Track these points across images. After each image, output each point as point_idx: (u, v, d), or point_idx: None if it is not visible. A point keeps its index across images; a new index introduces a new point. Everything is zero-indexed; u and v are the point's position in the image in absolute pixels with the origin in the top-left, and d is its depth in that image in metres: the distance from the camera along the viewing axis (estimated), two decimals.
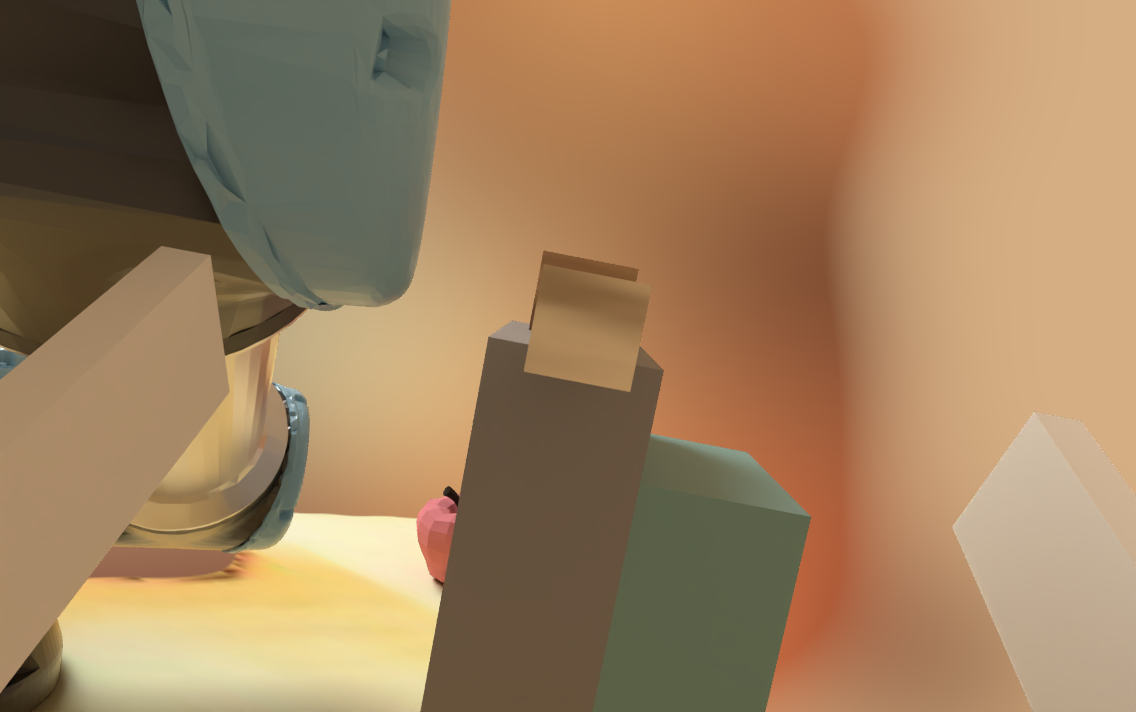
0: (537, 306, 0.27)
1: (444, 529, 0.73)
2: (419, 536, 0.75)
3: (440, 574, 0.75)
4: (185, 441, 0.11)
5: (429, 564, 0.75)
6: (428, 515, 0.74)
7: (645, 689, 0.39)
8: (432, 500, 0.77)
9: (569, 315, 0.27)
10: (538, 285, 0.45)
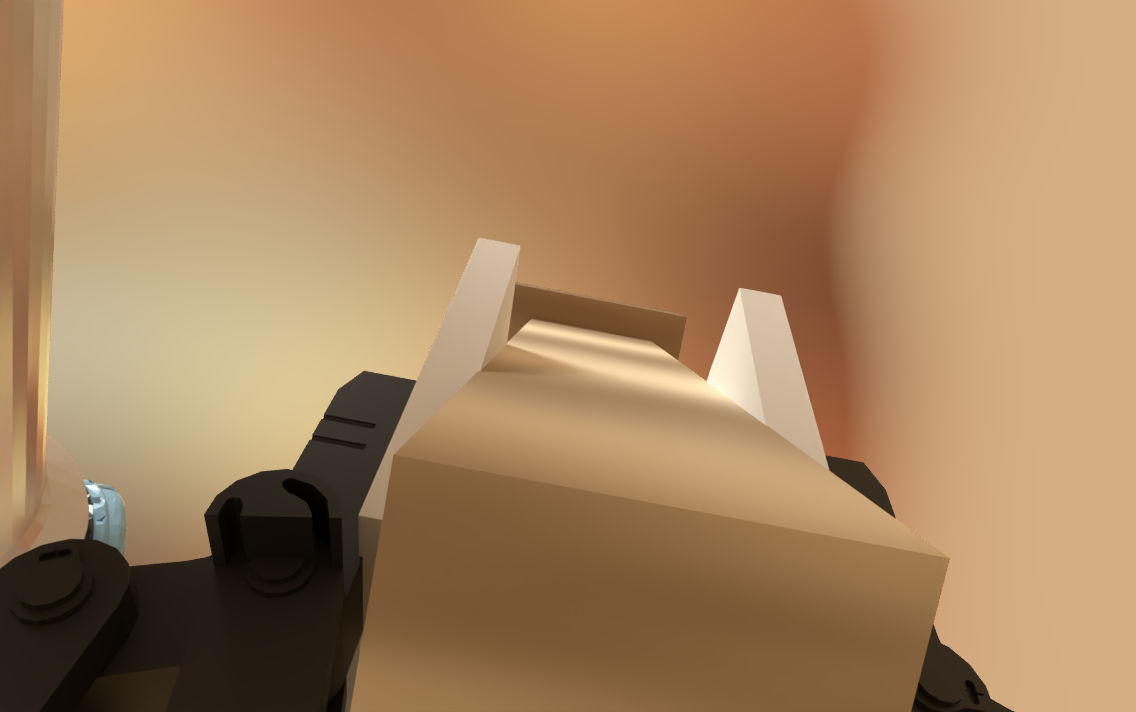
0: (365, 664, 0.05)
1: None
2: None
3: None
4: None
5: None
6: None
7: None
8: None
9: (528, 708, 0.05)
10: None
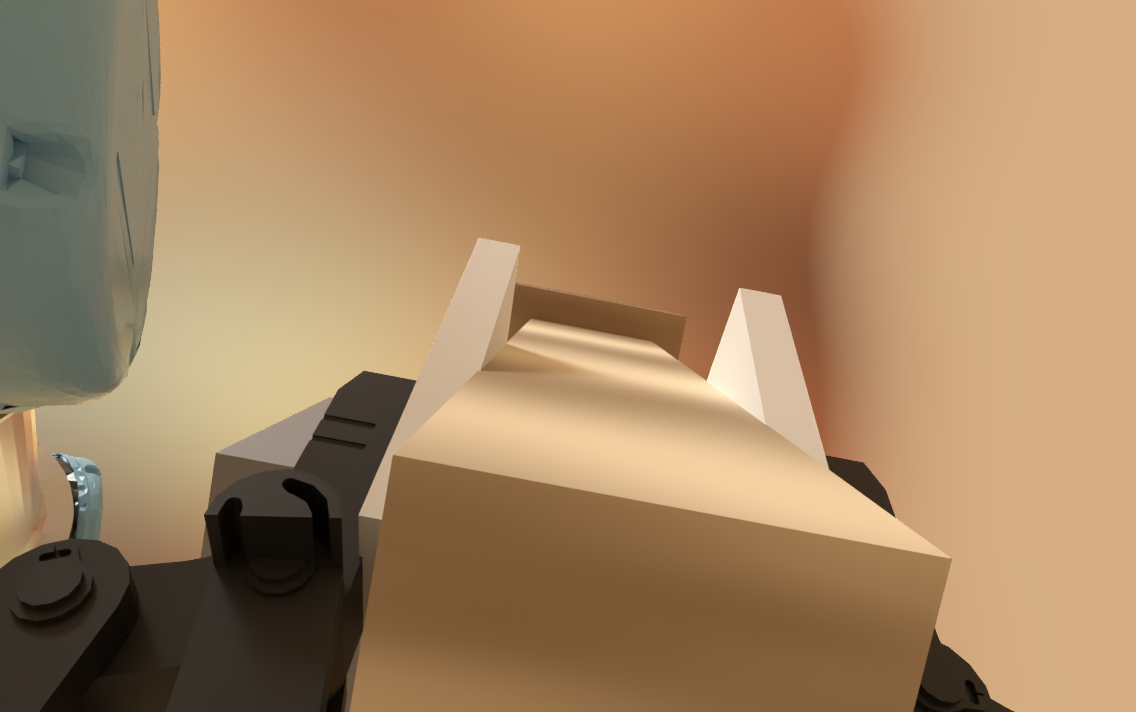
0: (365, 665, 0.05)
1: None
2: None
3: None
4: None
5: None
6: None
7: None
8: None
9: (527, 709, 0.05)
10: None
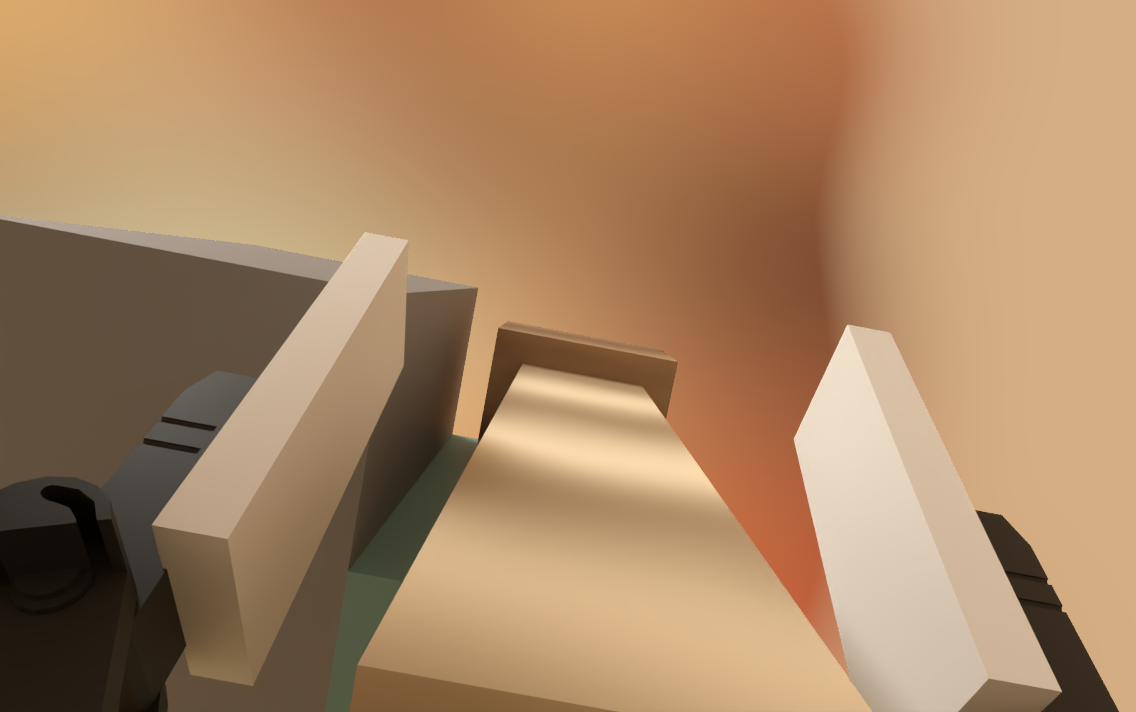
0: None
1: None
2: None
3: None
4: (380, 407, 0.13)
5: None
6: None
7: None
8: None
9: None
10: (489, 392, 0.24)
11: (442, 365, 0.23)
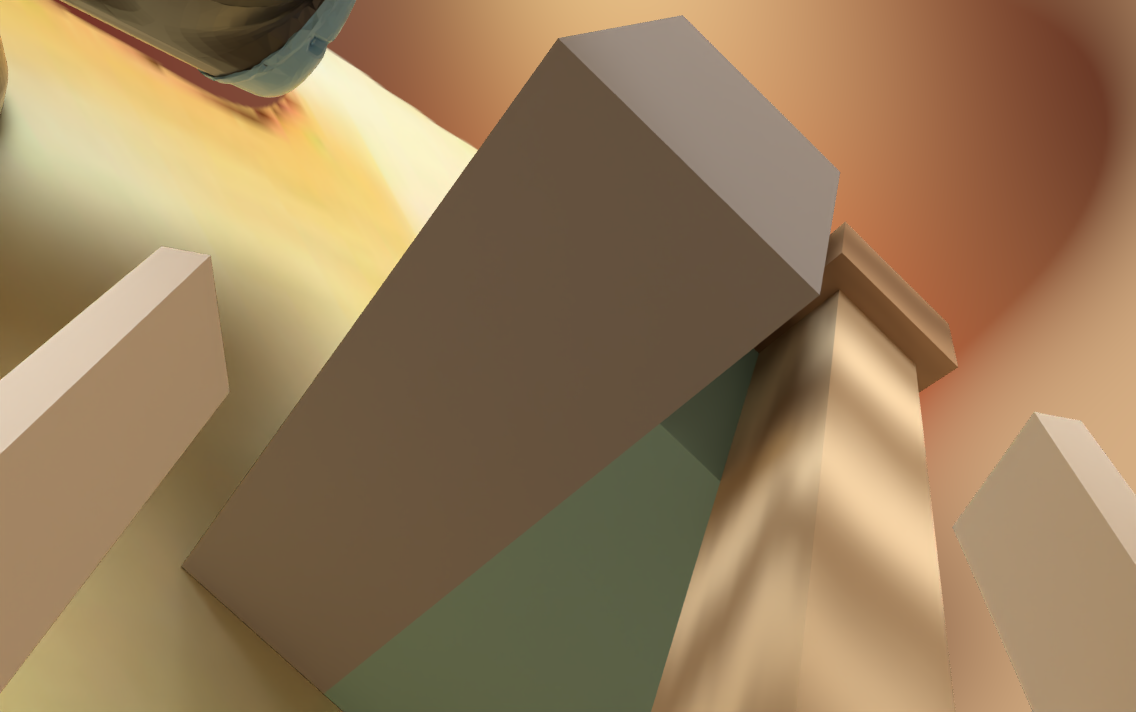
0: None
1: None
2: None
3: None
4: (185, 441, 0.11)
5: None
6: None
7: (515, 622, 0.28)
8: None
9: None
10: None
11: None
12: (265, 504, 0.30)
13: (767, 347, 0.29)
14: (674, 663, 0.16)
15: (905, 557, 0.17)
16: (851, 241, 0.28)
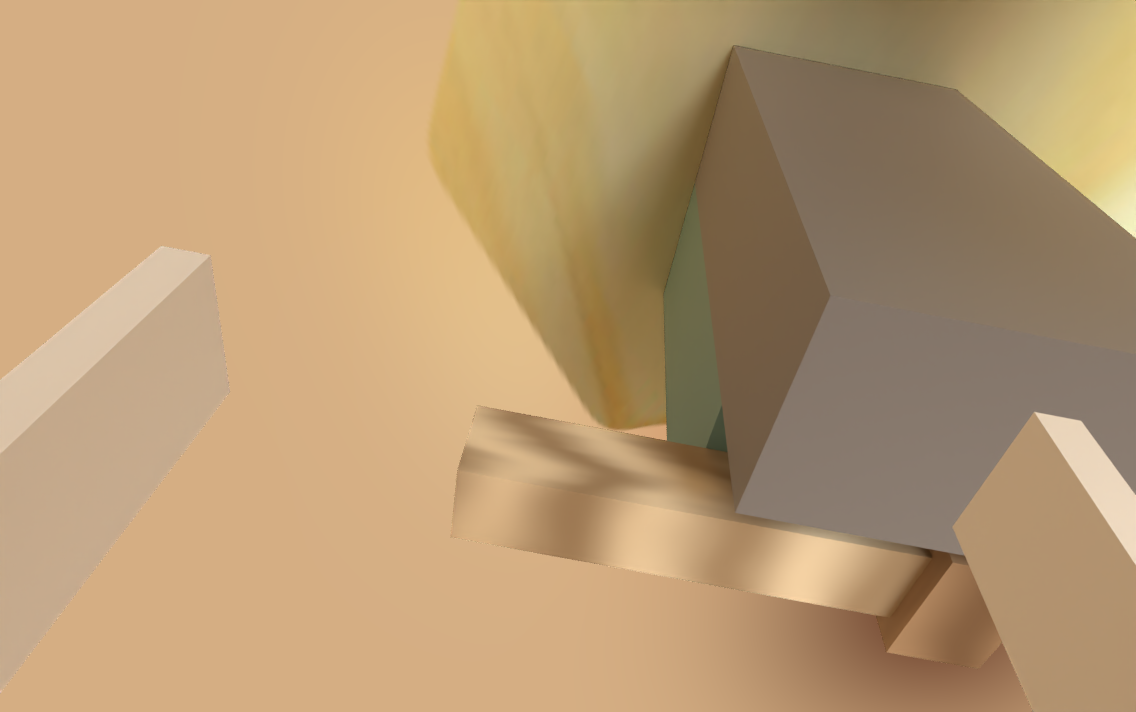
0: (465, 444, 0.30)
1: None
2: None
3: None
4: (185, 441, 0.11)
5: None
6: None
7: (694, 315, 0.41)
8: None
9: None
10: None
11: None
12: (739, 106, 0.39)
13: None
14: (545, 423, 0.31)
15: (617, 548, 0.30)
16: None
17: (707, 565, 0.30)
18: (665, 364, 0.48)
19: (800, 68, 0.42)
